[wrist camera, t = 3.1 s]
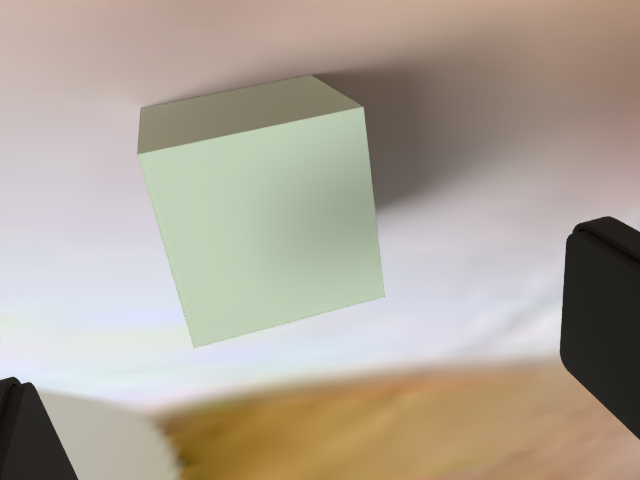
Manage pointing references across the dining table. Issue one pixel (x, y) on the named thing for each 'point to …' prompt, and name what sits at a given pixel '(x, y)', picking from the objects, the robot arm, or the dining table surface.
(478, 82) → the dining table surface
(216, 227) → the green cube
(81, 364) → the dining table surface
